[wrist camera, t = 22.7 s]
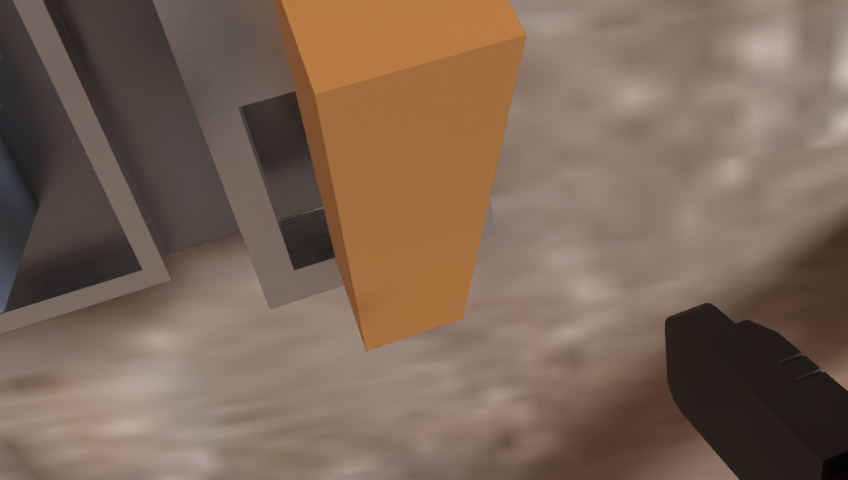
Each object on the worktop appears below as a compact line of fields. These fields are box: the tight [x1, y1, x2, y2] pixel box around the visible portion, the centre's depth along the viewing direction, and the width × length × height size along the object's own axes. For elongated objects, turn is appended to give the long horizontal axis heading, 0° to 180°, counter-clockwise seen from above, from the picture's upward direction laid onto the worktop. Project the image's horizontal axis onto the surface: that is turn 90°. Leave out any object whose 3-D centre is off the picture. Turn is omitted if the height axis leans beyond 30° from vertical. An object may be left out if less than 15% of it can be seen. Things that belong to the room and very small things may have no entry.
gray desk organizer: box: [0, 0, 496, 334], centre depth 17 cm, size 16×20×14 cm
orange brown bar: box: [273, 0, 526, 351], centre depth 15 cm, size 3×3×12 cm
